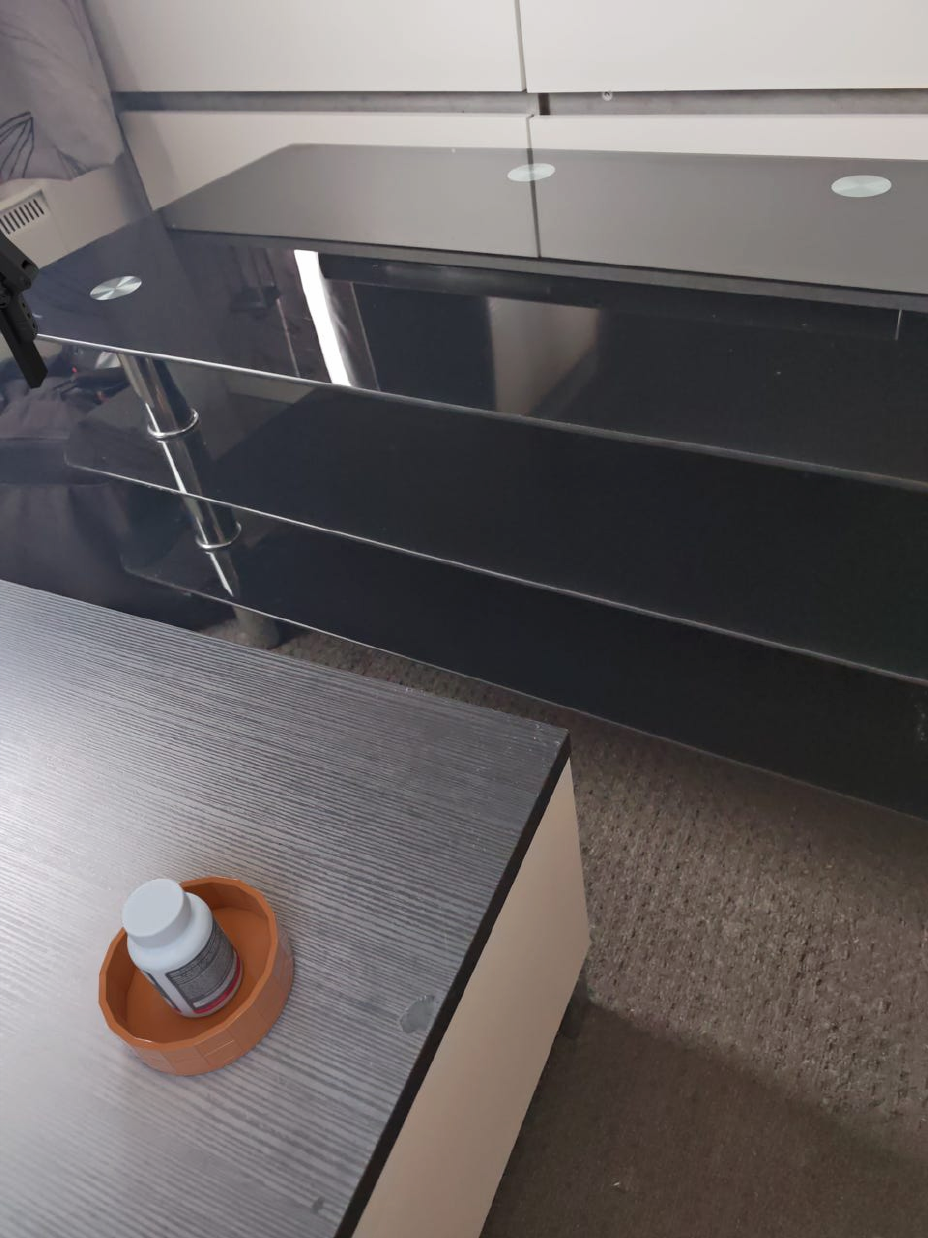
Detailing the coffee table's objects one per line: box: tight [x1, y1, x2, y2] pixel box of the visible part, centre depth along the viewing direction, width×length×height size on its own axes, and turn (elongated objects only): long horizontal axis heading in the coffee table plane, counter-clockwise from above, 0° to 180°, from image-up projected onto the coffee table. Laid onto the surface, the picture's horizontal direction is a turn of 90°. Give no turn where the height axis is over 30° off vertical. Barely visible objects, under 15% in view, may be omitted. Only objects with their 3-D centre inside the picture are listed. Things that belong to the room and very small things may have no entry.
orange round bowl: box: [97, 875, 295, 1077], centre depth 62 cm, size 12×12×4 cm
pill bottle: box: [120, 878, 243, 1018], centre depth 60 cm, size 5×5×10 cm
